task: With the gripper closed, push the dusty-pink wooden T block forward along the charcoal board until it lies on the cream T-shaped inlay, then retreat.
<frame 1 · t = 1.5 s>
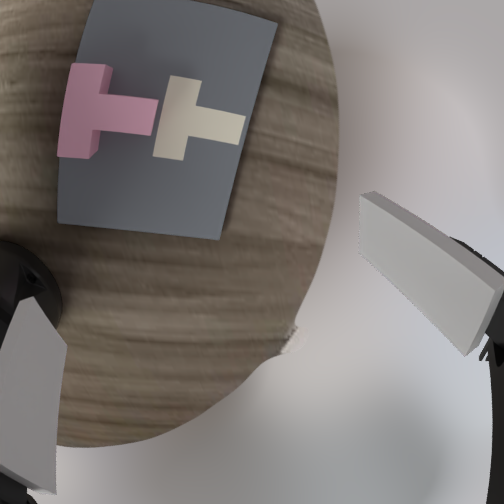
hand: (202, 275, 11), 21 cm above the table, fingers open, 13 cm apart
board: (155, 114, 26), on the table
t block: (104, 109, 23), point 1 cm above the table, touching board
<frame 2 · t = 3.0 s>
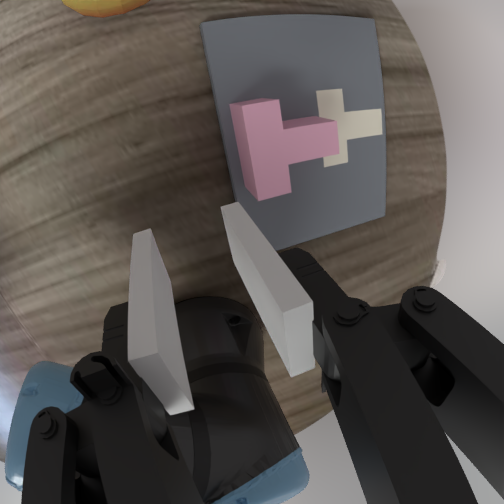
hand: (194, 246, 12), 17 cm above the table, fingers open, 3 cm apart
board: (310, 128, 28), on the table
t block: (268, 139, 27), point 1 cm above the table, touching board
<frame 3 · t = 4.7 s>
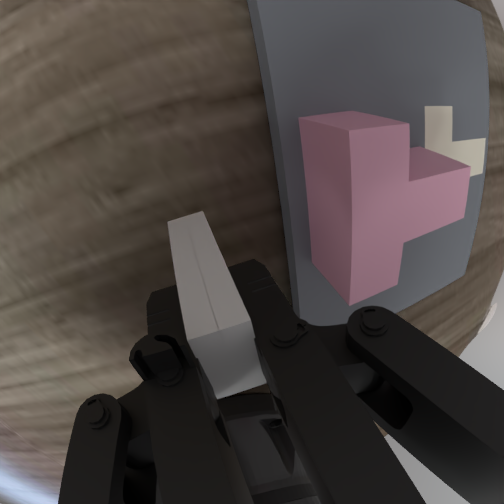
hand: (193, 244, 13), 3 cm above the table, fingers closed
board: (406, 164, 17), on the table
t block: (356, 184, 15), point 1 cm above the table, touching board
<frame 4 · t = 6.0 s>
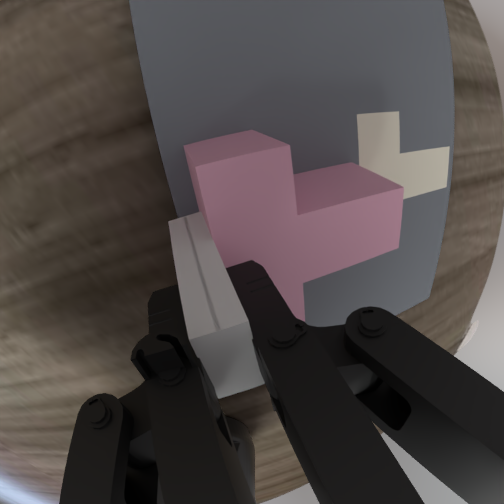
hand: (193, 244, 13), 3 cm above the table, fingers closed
board: (340, 182, 16), on the table
t block: (264, 211, 15), point 1 cm above the table, touching board, gripper
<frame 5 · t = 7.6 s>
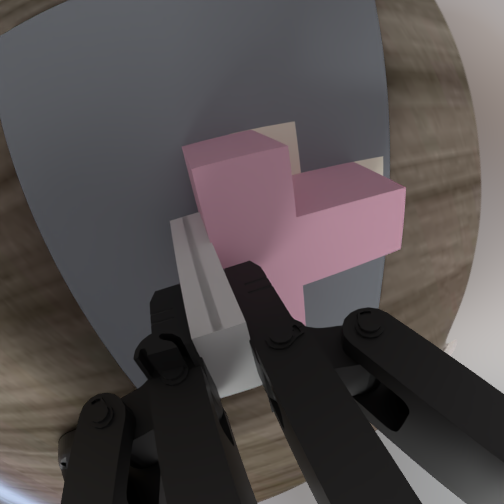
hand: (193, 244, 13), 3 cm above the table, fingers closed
board: (229, 210, 15), on the table
t block: (265, 212, 14), point 1 cm above the table, touching board, gripper
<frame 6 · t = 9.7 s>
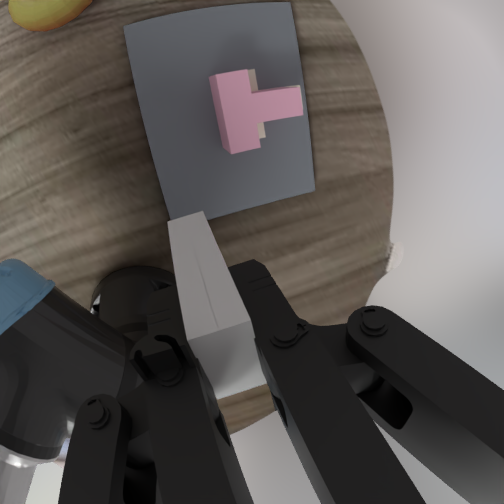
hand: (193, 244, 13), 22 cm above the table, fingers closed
board: (226, 108, 30), on the table
t block: (242, 106, 30), point 1 cm above the table, touching board
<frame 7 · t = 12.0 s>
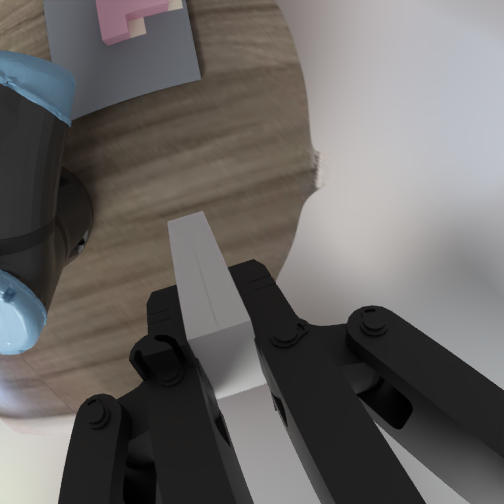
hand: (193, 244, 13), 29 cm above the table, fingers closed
board: (115, 17, 26), on the table
t block: (125, 12, 25), point 1 cm above the table, touching board
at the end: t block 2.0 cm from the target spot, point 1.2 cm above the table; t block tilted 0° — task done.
